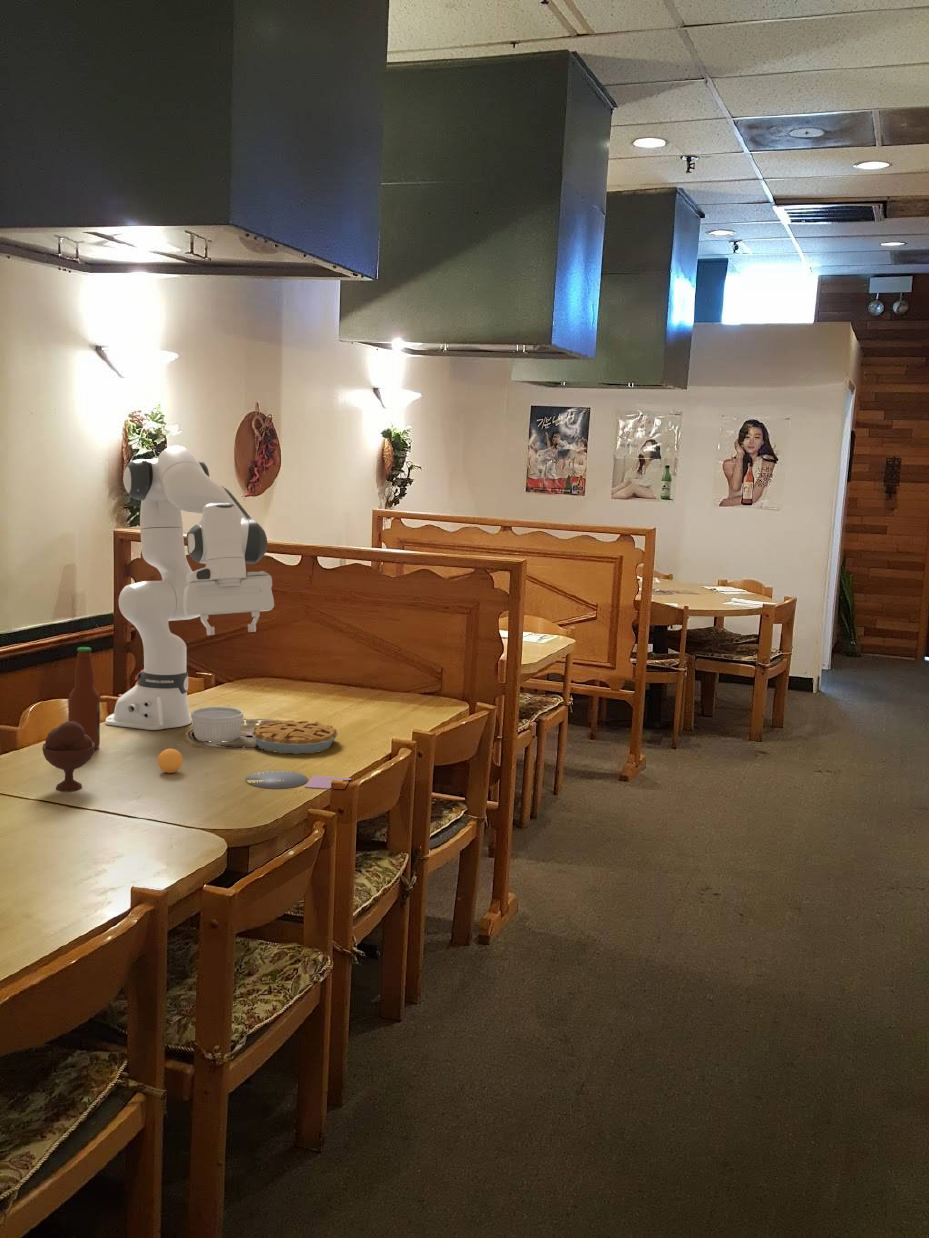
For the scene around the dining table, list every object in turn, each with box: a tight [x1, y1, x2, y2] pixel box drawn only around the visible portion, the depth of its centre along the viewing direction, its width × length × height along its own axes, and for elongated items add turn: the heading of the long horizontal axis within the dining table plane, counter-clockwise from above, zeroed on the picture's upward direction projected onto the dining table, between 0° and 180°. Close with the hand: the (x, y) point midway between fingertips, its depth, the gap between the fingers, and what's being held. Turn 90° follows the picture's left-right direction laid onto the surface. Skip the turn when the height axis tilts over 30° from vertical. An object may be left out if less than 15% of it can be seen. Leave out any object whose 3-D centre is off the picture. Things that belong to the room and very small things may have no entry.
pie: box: [251, 720, 338, 755], centre depth 285 cm, size 22×22×5 cm
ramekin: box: [190, 706, 244, 743], centre depth 288 cm, size 13×13×7 cm
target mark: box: [245, 770, 309, 790], centre depth 254 cm, size 14×14×1 cm
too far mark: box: [304, 775, 352, 790], centre depth 253 cm, size 9×9×1 cm
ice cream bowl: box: [41, 721, 95, 792], centre depth 239 cm, size 11×11×15 cm
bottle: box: [67, 646, 101, 750], centre depth 271 cm, size 7×7×25 cm
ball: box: [157, 748, 184, 774], centre depth 255 cm, size 6×6×6 cm
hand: (231, 633), depth 251 cm, fingers open, 8 cm apart
